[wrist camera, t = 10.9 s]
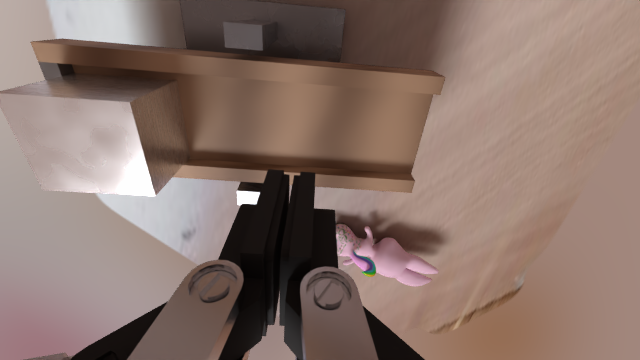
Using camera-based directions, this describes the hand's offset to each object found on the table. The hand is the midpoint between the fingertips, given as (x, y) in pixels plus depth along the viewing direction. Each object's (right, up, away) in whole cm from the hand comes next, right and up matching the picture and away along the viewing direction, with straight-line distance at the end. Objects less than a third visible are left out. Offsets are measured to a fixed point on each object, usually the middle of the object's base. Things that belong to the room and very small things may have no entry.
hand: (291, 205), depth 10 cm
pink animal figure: (+8, -7, +24) cm, 26 cm away
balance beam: (-4, +5, +9) cm, 11 cm away
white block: (-11, +5, +8) cm, 14 cm away
